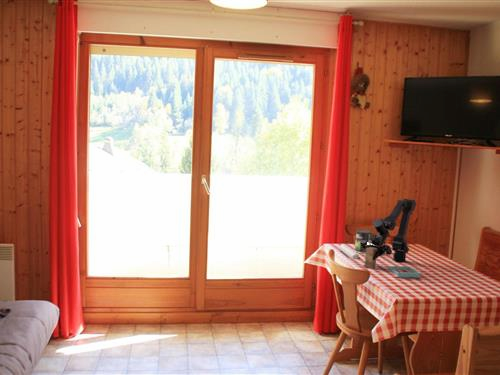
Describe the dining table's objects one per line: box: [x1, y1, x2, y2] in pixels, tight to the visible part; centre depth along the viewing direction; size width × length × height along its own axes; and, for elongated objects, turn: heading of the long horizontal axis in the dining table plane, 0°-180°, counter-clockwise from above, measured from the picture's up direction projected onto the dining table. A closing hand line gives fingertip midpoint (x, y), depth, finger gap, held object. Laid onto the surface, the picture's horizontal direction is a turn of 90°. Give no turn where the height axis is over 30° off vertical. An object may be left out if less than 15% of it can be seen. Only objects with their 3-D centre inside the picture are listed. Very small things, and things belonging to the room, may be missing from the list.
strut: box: [364, 247, 377, 268], centre depth 294 cm, size 4×4×11 cm
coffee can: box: [354, 229, 373, 255], centre depth 337 cm, size 10×10×14 cm
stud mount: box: [362, 264, 379, 270], centre depth 295 cm, size 7×7×4 cm
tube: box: [338, 243, 360, 260], centre depth 324 cm, size 5×5×25 cm
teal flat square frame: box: [388, 265, 421, 279], centre depth 287 cm, size 13×13×3 cm
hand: (369, 258), depth 293 cm, fingers closed on strut, 4 cm apart
